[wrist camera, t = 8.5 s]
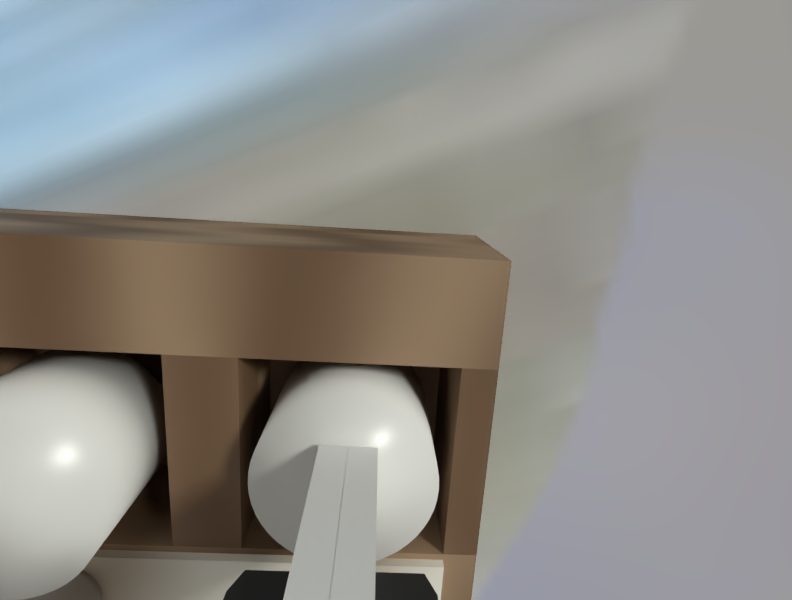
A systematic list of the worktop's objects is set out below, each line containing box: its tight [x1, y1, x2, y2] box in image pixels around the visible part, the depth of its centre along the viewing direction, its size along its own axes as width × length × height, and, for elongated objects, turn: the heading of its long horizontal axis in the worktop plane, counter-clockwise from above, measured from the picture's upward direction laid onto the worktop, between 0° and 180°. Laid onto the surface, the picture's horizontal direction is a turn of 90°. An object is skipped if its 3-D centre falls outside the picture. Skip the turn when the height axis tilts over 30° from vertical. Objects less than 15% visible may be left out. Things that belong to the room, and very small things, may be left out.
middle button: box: [0, 349, 167, 600], centre depth 14 cm, size 5×5×4 cm
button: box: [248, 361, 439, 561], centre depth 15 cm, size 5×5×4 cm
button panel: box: [0, 209, 511, 600], centre depth 16 cm, size 24×12×6 cm, turn 87°
